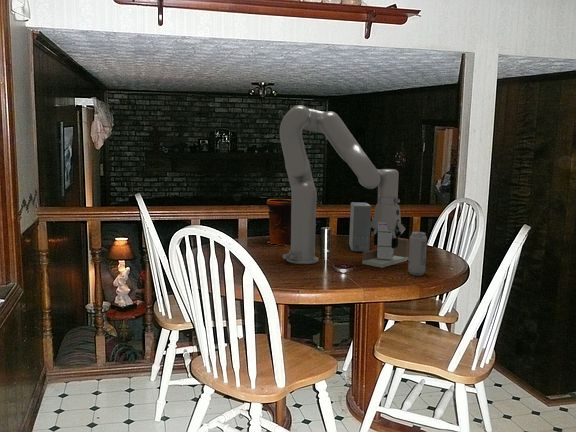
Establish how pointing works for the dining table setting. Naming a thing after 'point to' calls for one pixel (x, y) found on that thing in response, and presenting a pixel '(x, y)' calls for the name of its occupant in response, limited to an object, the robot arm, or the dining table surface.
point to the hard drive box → (360, 226)
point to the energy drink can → (417, 253)
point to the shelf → (398, 257)
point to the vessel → (280, 221)
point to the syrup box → (384, 242)
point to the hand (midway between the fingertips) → (385, 245)
